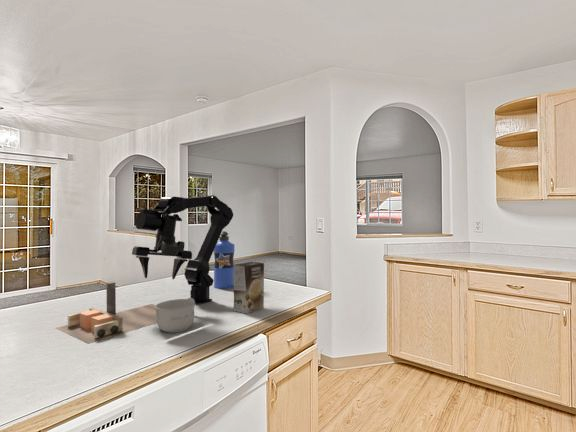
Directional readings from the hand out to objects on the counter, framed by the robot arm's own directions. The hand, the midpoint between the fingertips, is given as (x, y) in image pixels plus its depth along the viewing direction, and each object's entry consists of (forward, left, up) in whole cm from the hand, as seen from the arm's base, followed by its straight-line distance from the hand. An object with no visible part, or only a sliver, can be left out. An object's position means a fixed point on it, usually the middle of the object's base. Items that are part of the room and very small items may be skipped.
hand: (159, 278), depth 116 cm
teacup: (+6, +18, -12) cm, 22 cm away
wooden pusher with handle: (+20, 0, -11) cm, 23 cm away
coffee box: (-20, +22, -12) cm, 32 cm away
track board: (+12, 0, -12) cm, 17 cm away
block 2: (+21, +4, -11) cm, 24 cm away
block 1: (+21, -3, -11) cm, 24 cm away
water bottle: (-40, -11, -12) cm, 44 cm away
